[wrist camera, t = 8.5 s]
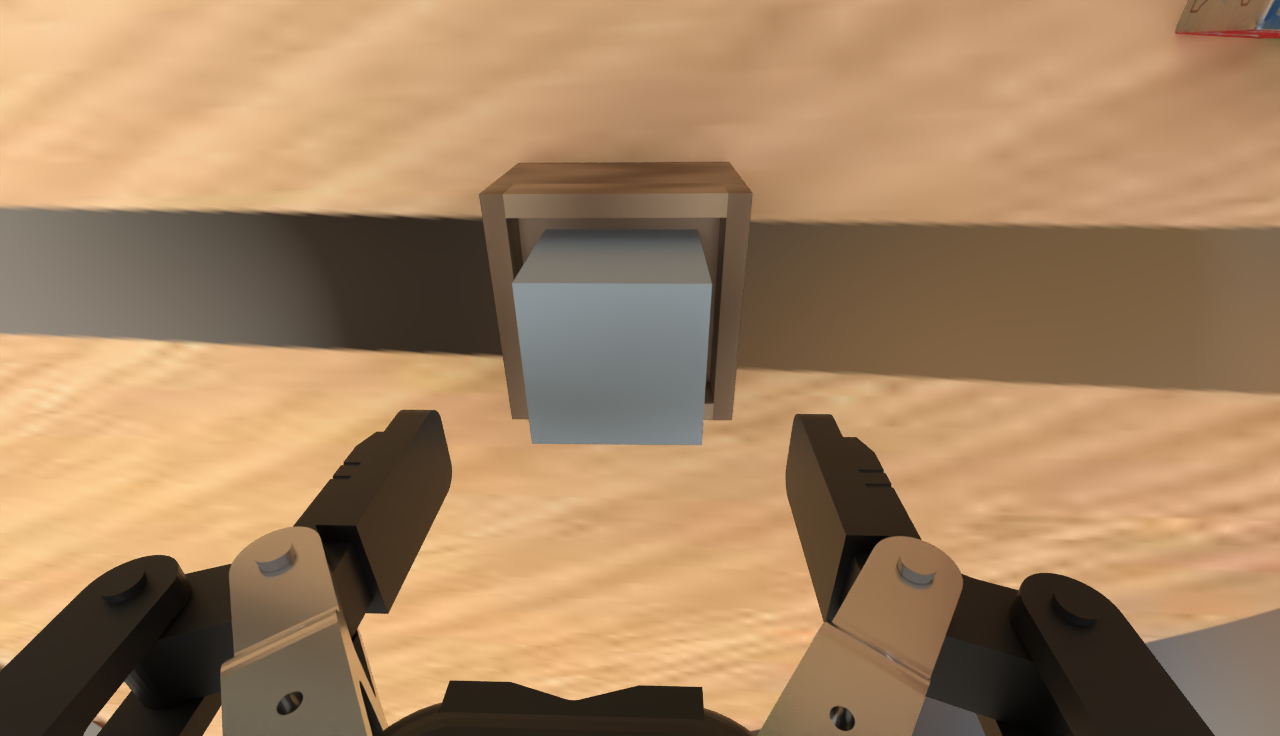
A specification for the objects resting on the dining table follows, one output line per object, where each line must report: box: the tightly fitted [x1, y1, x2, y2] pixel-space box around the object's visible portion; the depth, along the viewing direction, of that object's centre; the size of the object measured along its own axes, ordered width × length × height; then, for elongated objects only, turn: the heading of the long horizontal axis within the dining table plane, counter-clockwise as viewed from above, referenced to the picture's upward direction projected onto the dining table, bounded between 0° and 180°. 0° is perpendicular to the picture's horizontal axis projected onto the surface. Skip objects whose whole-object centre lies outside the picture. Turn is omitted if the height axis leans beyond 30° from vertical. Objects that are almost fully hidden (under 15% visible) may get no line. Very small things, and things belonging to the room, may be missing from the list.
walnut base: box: [479, 162, 752, 420], centre depth 20 cm, size 8×8×6 cm
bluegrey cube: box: [512, 229, 712, 445], centre depth 17 cm, size 5×5×5 cm
